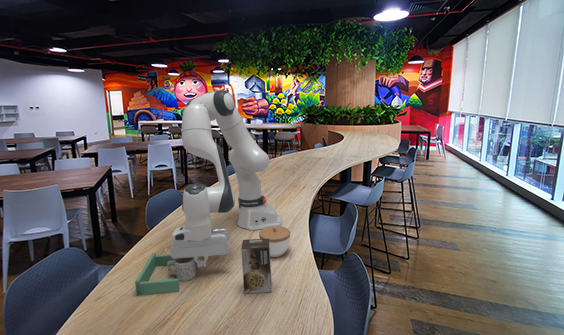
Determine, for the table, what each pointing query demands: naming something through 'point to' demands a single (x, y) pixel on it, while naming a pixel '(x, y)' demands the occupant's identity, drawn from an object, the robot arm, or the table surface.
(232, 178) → the table surface
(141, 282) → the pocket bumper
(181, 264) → the mug
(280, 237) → the lidded bowl
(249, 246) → the brown food box
